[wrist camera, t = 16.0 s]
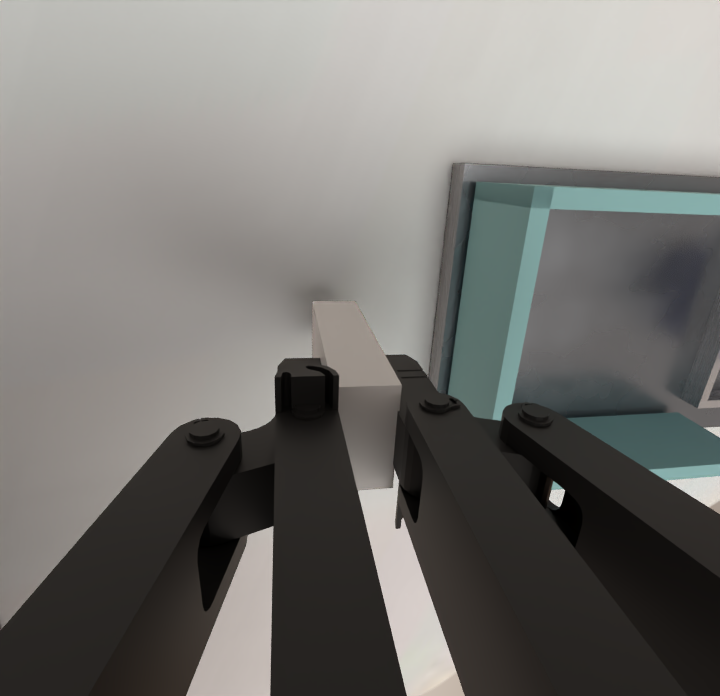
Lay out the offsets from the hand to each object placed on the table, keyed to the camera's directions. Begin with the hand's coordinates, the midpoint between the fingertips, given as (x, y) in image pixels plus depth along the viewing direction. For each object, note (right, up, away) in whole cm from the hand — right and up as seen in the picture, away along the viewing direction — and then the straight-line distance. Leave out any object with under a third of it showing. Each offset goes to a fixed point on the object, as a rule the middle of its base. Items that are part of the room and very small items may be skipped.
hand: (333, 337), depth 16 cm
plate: (+15, +1, +5) cm, 16 cm away
